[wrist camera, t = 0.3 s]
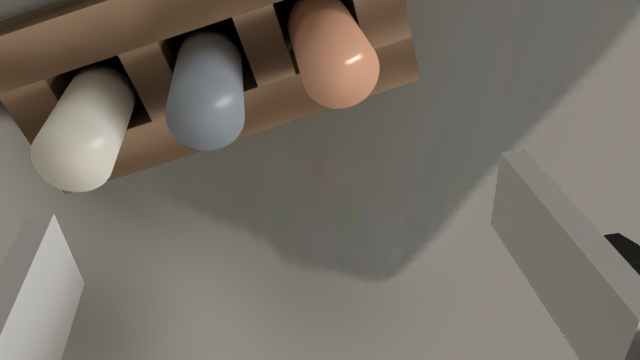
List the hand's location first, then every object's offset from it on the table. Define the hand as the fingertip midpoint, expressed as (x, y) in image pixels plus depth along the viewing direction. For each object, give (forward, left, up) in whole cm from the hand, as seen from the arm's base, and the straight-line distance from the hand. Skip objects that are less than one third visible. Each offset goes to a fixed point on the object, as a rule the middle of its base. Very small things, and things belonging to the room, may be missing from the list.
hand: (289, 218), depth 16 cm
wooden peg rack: (+3, -4, -28) cm, 28 cm away
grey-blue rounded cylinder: (+3, -4, -24) cm, 25 cm away
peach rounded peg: (+3, +4, -24) cm, 24 cm away
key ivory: (+3, -12, -24) cm, 27 cm away
